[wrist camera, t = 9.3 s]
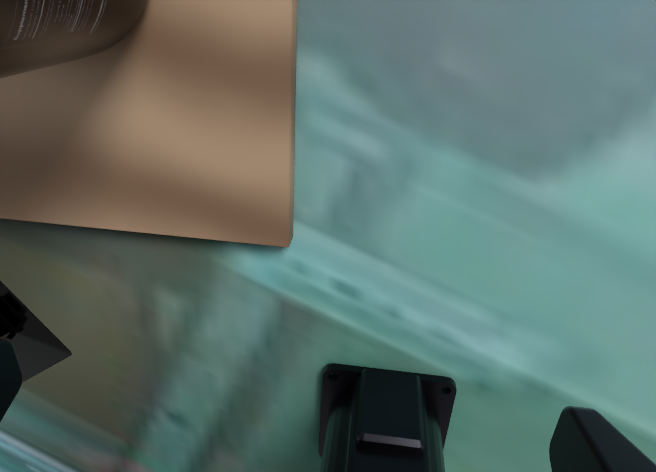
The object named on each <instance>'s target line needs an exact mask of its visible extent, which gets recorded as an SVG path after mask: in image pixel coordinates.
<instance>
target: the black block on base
mask: <svg viewBox="0 0 656 472" xmlns="http://www.w3.org/2000/svg"><path fill="white" fill-rule="evenodd" d="M0 337H4V338H7V339H9V340H10V341H11V342H12V343H13V346H14V349H15V352H16V355H17V358H18V361H19V365H20V368H21V371H22V382H24V381H26V380H27V379H29V378H31V377H33V376H35V375H36V374H38V373H40V372H42V371H44V370H45V369H47V368H49V367H51V366H53V365H54V364H56V363H58V362H60V361H62V360H63V359H65V358H67V357H69V356H71V355H72V353H71V351H70V350H69V349H68V348H67V347H66V346H65V345H64V344H63V343H62V342H61V341H60V340H59V339H58V338H57V337H56V336H55V335H54V334H53V333H52V332H51V331H50V330H49V329H48V328H47V327H46V326H45V325H44V324H43V323H42V322H41V321H40V320H39V319H38V318H37V317H36V316H35V315H34V314H33V313H32V312H31V311H30V310H29V309H28V308H27V307H26V306H25V305H24V304H23V303H22V302H21V301H20V300H19V299H18V298H17V297H16V296H15V295H14V294H13V293H12V292H11V291H10V290H9V289H8V288H7V287H6V286H5V285H4V284H3V283H2V282H1V281H0Z"/></svg>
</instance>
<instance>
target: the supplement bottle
mask: <svg viewBox="0 0 656 472" xmlns="http://www.w3.org/2000/svg"><path fill="white" fill-rule="evenodd" d="M145 2H146V0H0V78H4V77H8V76H13V75H17V74H21V73H25V72H29V71H33V70H37V69H41V68H45V67H49V66H53V65H57V64H62V63H66V62H70V61H74V60H78V59H81V58H85V57H88V56H92V55H95V54H98V53H100V52H103V51H105V50H107V49H109V48H111V47H112V46H114V45H115V44H117V43H118V42H120V41H121V40H122V39H123V38H124V37H125V36H126V35H127V34H128V33H129V32H130V31H131V29H132V28H133V26H134V25H135V24H136V22H137V20H138V19H139V17H140V15H141V13H142V10H143V8H144V6H145Z"/></svg>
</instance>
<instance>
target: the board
mask: <svg viewBox="0 0 656 472" xmlns="http://www.w3.org/2000/svg"><path fill="white" fill-rule="evenodd" d="M296 45H297V0H146V2H145V6H144V8H143V10H142V13H141V15H140V17H139V19H138V20H137V22H136V24H135V25H134V26H133V28H132V29H131V31H130V32H129V33H128V34H127V35H126V36H125V37H124V38H123V39H122V40H121V41H120V42H118V43H117V44H115V45H114V46H112V47H111V48H109V49H107V50H105V51H103V52H100V53H98V54H95V55H92V56H88V57H85V58H81V59H78V60H74V61H70V62H66V63H62V64H57V65H53V66H49V67H45V68H41V69H37V70H33V71H29V72H25V73H21V74H17V75H13V76H8V77H4V78H0V218H2V219H12V220H22V221H32V222H42V223H52V224H62V225H72V226H82V227H92V228H102V229H112V230H122V231H132V232H142V233H152V234H161V235H171V236H181V237H191V238H201V239H211V240H221V241H231V242H241V243H251V244H261V245H271V246H281V247H289V245H290V243H291V240H292V238H293V204H294V151H295V98H296Z"/></svg>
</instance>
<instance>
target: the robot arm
mask: <svg viewBox="0 0 656 472" xmlns="http://www.w3.org/2000/svg"><path fill="white" fill-rule="evenodd" d="M330 373H335V374H337V375H332V374H330ZM21 384H22V371H21V368H20V365H19V361H18V358H17V355H16V352H15V349H14V346H13V343H12V342H11V341H10V340H9V339H7V338H4V337H0V422H1V420H2V418H3V417H4V415H5V413H6V411H7V410H8V408H9V406H10V405H11V403H12V401H13V400H14V398H15V396H16V395H17V393H18V391H19V389H20V387H21ZM443 387H449V388H445V389H444V388H443ZM455 396H456V384H455V382H454V380H453V379H451V378H449V377H443V376H435V375H426V374H418V373H410V372H401V371H393V370H384V369H376V368H368V367H359V366H351V365H342V364H329V365H327V366H326V367H325V369H324V374H323V386H322V403H321V420H320V437H319V455H320V456H321V457H322V463H321V470H320V472H445V466H444V457H443V448H444V443H445V439H446V435H447V430H448V426H449V422H450V417H451V413H452V409H453V404H454V400H455ZM549 454H550V462H551V468H552V472H656V464H654V463H653V462H652V461H651V460H650V459H649V458H648V457H647V456H646V455H645V454H644V453H642V452H641V451H640V450H639V449H638V448H637V447H636V446H635V445H634V444H633V443H631V442H630V441H629V440H628V439H627V438H626V437H625V436H624V435H623V434H622V433H621V432H619V431H618V430H617V429H616V428H615V427H614V426H613V425H612V424H611V423H610V422H608V421H607V420H606V419H605V418H604V417H603V416H602V415H601V414H600V413H598V412H597V411H596V410H594V409H590V408H583V407H575V406H567V407H565V408H564V409H563V411H562V413H561V415H560V418H559V420H558V423H557V426H556V428H555V431H554V434H553V436H552V439H551V442H550V449H549Z"/></svg>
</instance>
